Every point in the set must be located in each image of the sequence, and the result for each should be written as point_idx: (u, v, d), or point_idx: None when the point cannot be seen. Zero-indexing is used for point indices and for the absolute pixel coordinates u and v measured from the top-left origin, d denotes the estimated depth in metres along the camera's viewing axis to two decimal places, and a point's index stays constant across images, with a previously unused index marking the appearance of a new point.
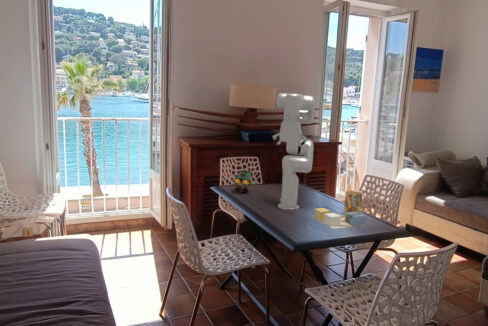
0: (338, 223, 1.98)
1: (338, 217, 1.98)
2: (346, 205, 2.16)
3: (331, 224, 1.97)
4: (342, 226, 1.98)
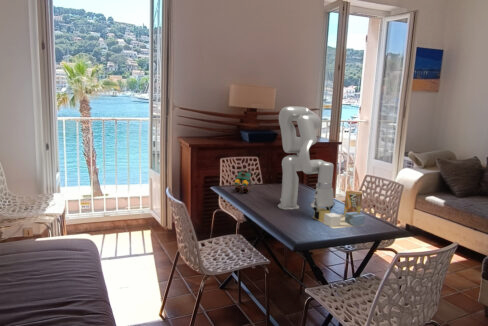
0: (338, 223, 1.98)
1: (338, 217, 1.98)
2: (346, 205, 2.16)
3: (331, 224, 1.97)
4: (342, 226, 1.98)
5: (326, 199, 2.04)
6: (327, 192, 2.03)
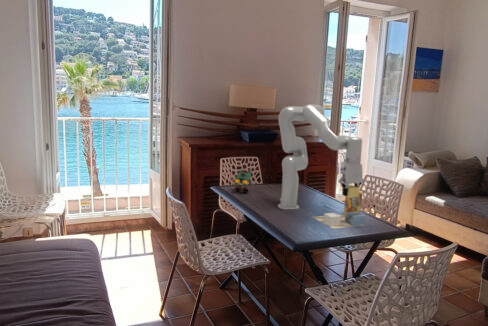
0: (338, 223, 1.98)
1: (338, 217, 1.98)
2: (346, 205, 2.16)
3: (331, 224, 1.97)
4: (342, 226, 1.98)
5: (355, 175, 1.98)
6: (355, 167, 1.97)
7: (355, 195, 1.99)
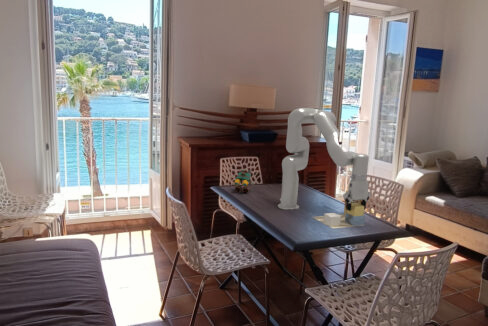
0: (338, 223, 1.98)
1: (338, 217, 1.98)
2: None
3: (331, 224, 1.97)
4: (342, 226, 1.98)
5: (360, 192, 1.98)
6: (361, 184, 1.98)
7: (360, 213, 2.00)
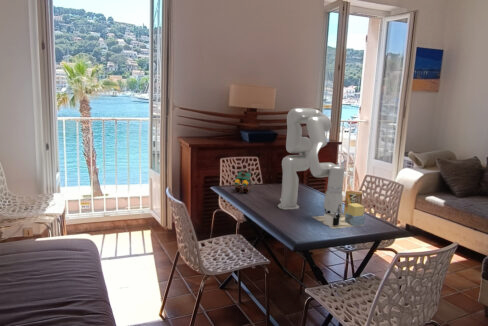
0: None
1: None
2: (346, 205, 2.16)
3: (331, 224, 1.97)
4: (342, 226, 1.98)
5: (328, 202, 1.97)
6: (329, 195, 1.97)
7: (360, 213, 2.00)
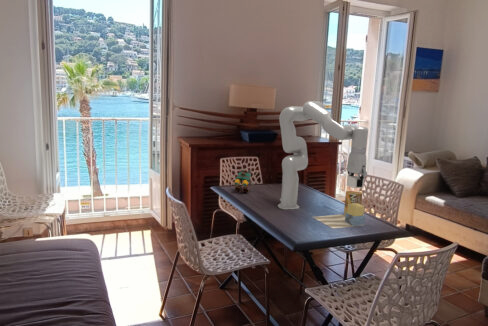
0: (362, 185, 1.98)
1: None
2: (346, 205, 2.16)
3: (355, 186, 1.96)
4: (342, 226, 1.98)
5: (352, 164, 1.97)
6: (353, 157, 1.96)
7: (360, 213, 2.00)
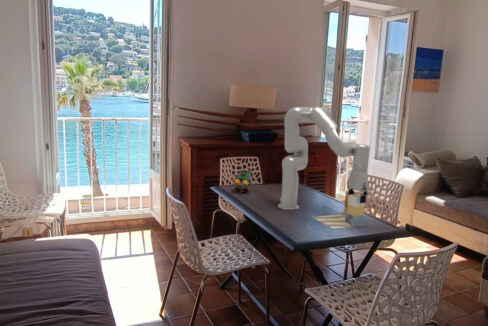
0: (363, 204, 2.00)
1: None
2: (346, 205, 2.16)
3: (356, 205, 1.98)
4: (342, 226, 1.98)
5: (353, 181, 1.99)
6: (355, 174, 1.98)
7: (360, 213, 2.00)
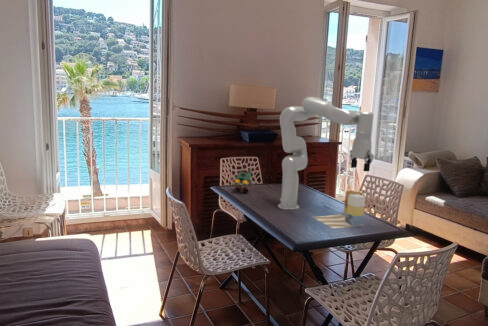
0: (363, 204, 2.00)
1: (363, 198, 1.99)
2: (346, 205, 2.16)
3: (356, 205, 1.98)
4: (342, 226, 1.98)
5: (357, 149, 1.96)
6: (358, 142, 1.95)
7: (360, 213, 2.00)
